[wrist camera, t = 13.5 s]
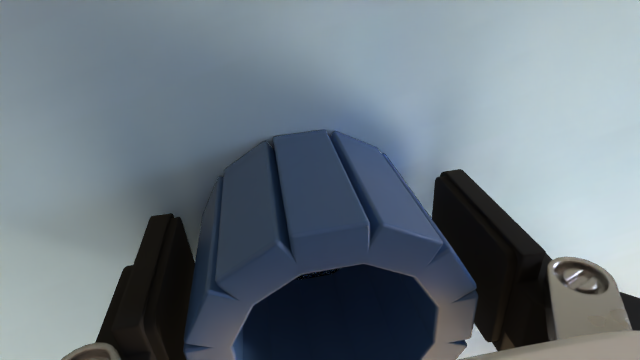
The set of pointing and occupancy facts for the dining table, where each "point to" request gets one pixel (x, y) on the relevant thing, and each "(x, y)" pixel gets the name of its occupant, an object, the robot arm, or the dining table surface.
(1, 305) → the dining table surface
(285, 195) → the blue ring
